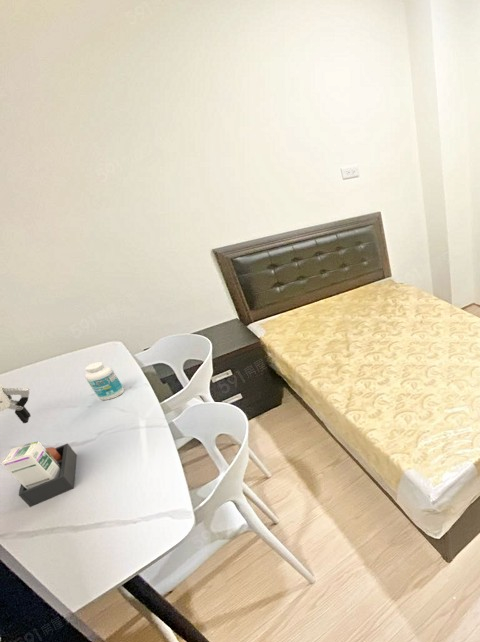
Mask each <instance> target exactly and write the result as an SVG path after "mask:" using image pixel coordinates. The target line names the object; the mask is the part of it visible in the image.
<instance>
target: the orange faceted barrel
mask: <svg viewBox="0 0 480 642" xmlns="http://www.w3.org/2000/svg"><path fill="white" fill-rule="evenodd" d="M44 448H45V449H46V450H47V451H48V452H49V453H50V454H51V456H52V457H53V458H54V459H55V460H56V461H57V462H58V461H60V460H62V456H61V455H60V454H59V452H58V451H57V450H56V449H55V448H56V447H53V446H50V447H44Z"/></svg>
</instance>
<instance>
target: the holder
mask: <svg viewBox="0 0 480 642" xmlns="http://www.w3.org/2000/svg"><path fill="white" fill-rule="evenodd" d="M54 448H55V449H56V450H57V451H58V452H59V454H60V455H61V456H62V460H60V461H58V463H59V465H60V466H61V472H60V477H57V478H55V479H52V480H50V481H47V482H45V483H42V484H40V485H38V486H35V487H33V488H30V489H28V490H27V489H26V488H25V487H24V486H23V485H22V484H21V483H20V487H19V490H18V496H19V497H20V499H22V500H23V501H24V502H25V504H27V506H28V507H30V508H32V507H34V506H36V505H39V504H41V503H43V502H46V501H48V500H50V499H53V498H55V497H57V496H59V495H62V494H64V493H67V492H69V491H72V490H73V489H75V481H76V470H77V469H76V468H77V459H78V458H77V457H78V455H77V454H76V452H75V450H74V449H73V448H72V447H71V446H70V444H69V443H65V444H62V445H60V446H57V447H54Z"/></svg>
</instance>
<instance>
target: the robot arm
mask: <svg viewBox="0 0 480 642" xmlns="http://www.w3.org/2000/svg"><path fill="white" fill-rule="evenodd" d="M30 390H31V389H30V388H28V387H25V388H24V387H22V388H21V387H19V388H18V387H15V388H12V387H10V388H5V387H4V385H3V384H2V383H0V412H3V411H4V410H6V409H9V410H13V411H14V414H15V415H16V416H17V418H18V419H19V420H20V421H21V422H22V424H28V423H29V419H30V418H31V413H30V412H29V410H28V409H27V408H26V407H25V406H26V404H27V403H28V401H29V397H30ZM12 396H20V399H18V400H17V399H14V398H12Z"/></svg>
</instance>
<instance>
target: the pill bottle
mask: <svg viewBox="0 0 480 642" xmlns="http://www.w3.org/2000/svg"><path fill="white" fill-rule="evenodd" d="M84 369H85V370H86V374H85V380H86V381H87V383H88V384H89V386H90V387H91V389H92V390H93V391H94V393H95V395H96V396H97V398H98V399H99V400H101V401H108V400H111V399H112V400H113V399H115V398H117V397H119V396H121V395H122V394H123V393H124V391H125V387H124V386H123V385H122V382H121V381H120V380H119V378H118V376H117V375H116V373H115V372H114V369H113V368H112V367H111V366H108V365H107V366H106V365H104V363H103V362H101V361H97V362H93V363H90V364H88V365H87V366H86V367H85V368H84Z"/></svg>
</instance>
